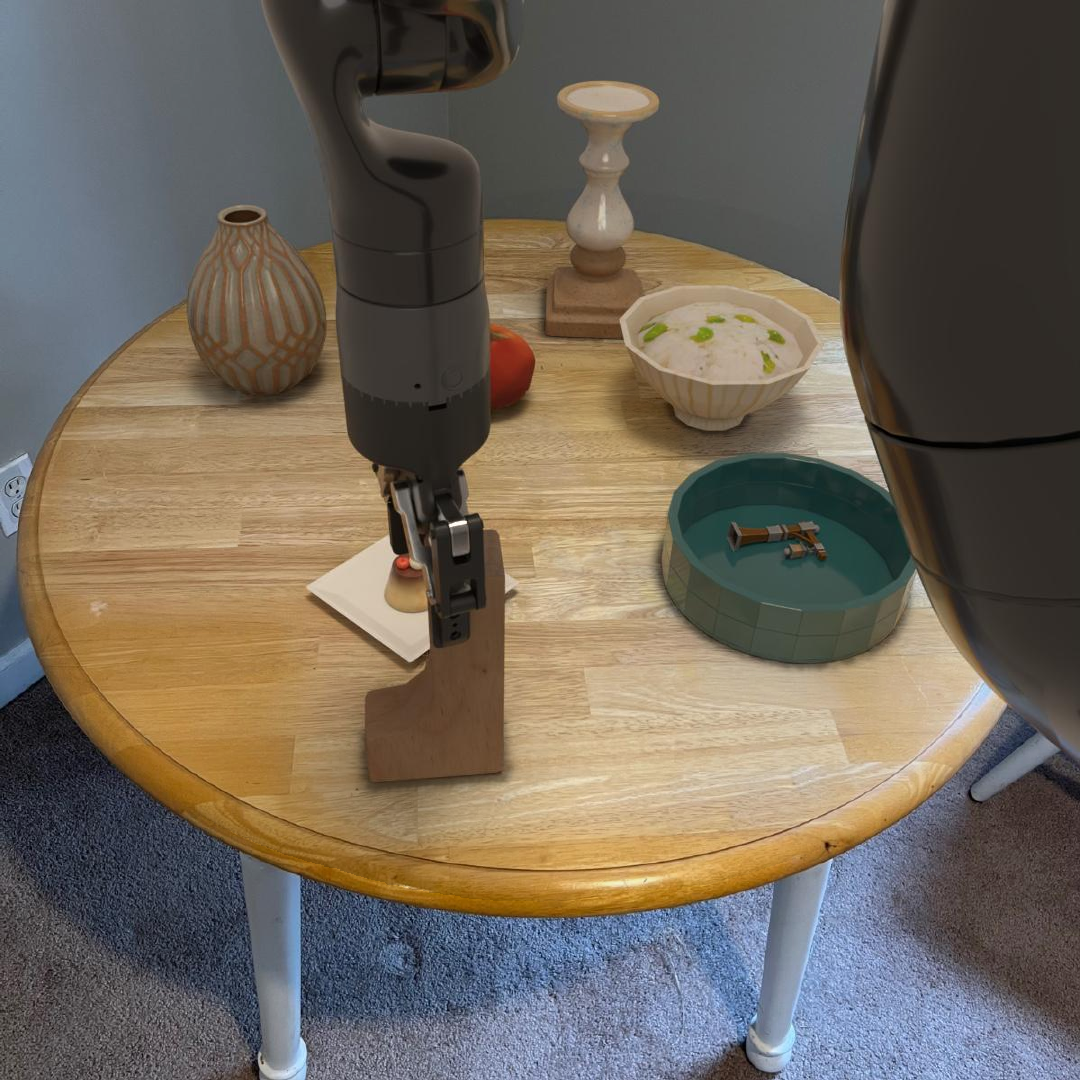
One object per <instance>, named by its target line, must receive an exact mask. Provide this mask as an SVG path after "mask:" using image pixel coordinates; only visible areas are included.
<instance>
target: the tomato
mask: <svg viewBox="0 0 1080 1080" xmlns="http://www.w3.org/2000/svg"><path fill="white" fill-rule="evenodd" d="M535 367H536V357H535V354H534V352H533V350H532V348H531V347H530V345H529V344H528V342H527V341H526V340H525V339H524V338H523V337H522V336H521V335H519V334H517V333H515V332H514V331H512V330H510V329H508V328H506V327H505V326H504V327H503V326H501V325H497V324H494V323H490V411H495V410H498V409H502V408H504V407H507V406H510V405H513V404H515V403H517V402H519V401H520V400H521V399H522V398H523V397H524V395H526V393H527V392H528V391H529V389H530V388H531V384H532V379H533V376H534V372H535Z"/></svg>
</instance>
